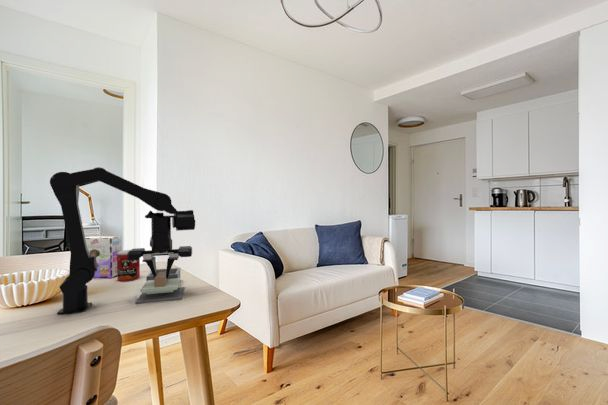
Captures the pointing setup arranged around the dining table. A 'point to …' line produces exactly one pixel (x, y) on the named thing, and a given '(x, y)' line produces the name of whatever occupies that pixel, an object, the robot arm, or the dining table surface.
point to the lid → (160, 284)
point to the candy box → (104, 254)
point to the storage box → (172, 275)
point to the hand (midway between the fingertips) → (161, 278)
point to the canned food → (127, 267)
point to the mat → (161, 296)
